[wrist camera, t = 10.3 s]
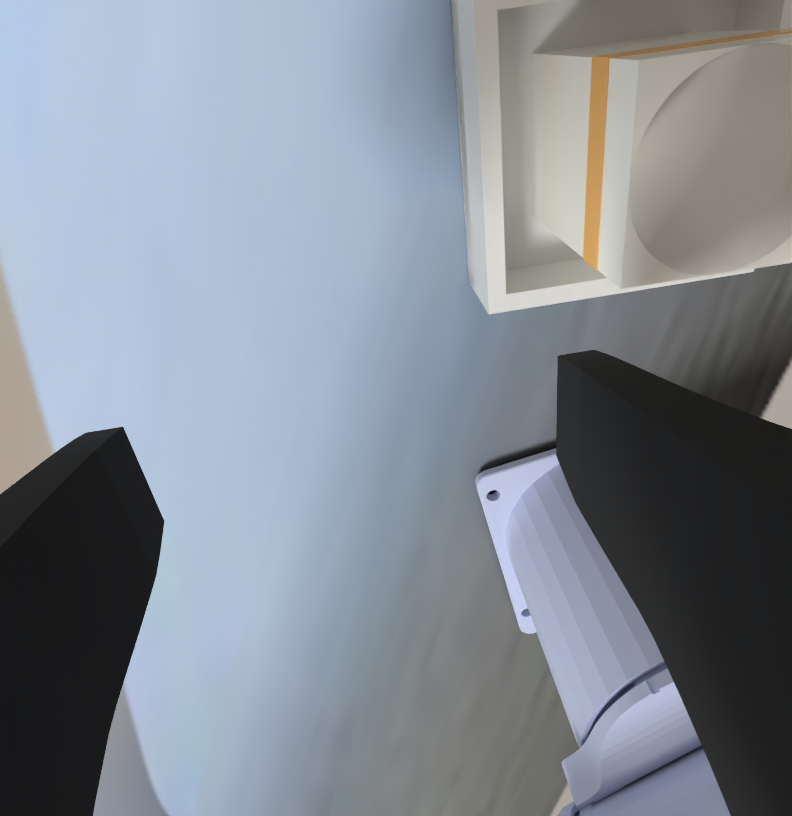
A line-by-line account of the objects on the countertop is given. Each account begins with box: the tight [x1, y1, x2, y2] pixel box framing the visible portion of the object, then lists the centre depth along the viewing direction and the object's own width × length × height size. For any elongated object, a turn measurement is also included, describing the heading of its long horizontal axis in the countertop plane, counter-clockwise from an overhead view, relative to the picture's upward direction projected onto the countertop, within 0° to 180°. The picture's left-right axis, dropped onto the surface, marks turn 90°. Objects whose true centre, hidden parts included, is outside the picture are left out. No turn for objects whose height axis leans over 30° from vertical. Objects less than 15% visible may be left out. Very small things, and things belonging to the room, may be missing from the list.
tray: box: [451, 0, 792, 314], centre depth 16 cm, size 8×8×3 cm
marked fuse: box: [532, 28, 792, 289], centre depth 14 cm, size 4×4×6 cm
